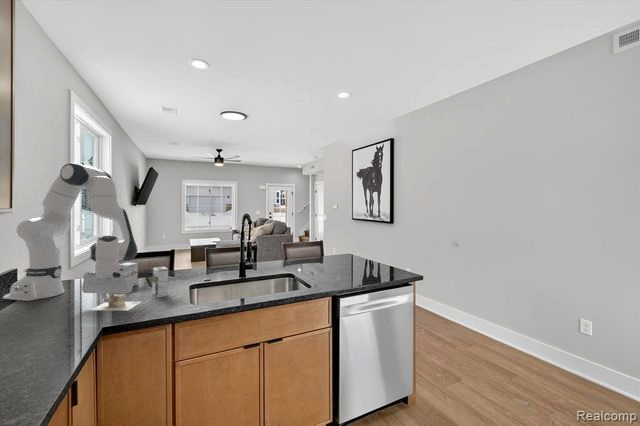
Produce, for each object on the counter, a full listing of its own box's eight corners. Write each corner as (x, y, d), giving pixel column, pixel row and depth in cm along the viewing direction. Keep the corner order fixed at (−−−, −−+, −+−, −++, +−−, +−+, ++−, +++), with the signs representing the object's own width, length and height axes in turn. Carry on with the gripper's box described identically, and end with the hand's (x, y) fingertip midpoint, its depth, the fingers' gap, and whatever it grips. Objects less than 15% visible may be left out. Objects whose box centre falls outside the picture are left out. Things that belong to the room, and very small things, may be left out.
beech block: (108, 307, 128) (108, 297, 128) (115, 304, 132) (115, 294, 132) (119, 307, 128) (119, 297, 128) (125, 304, 133) (125, 294, 133)
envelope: (89, 311, 124) (89, 310, 124) (106, 302, 135) (106, 301, 135) (127, 311, 125) (127, 310, 125) (141, 302, 136) (141, 301, 136)
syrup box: (151, 295, 146) (152, 267, 145) (164, 293, 150) (164, 266, 150) (155, 298, 142) (155, 269, 142) (168, 296, 146) (168, 268, 146)
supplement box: (127, 288, 157) (127, 265, 156) (115, 287, 158) (115, 264, 158) (138, 284, 164) (138, 262, 164) (127, 283, 166) (127, 261, 165)
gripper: (78, 273, 126) (78, 304, 126) (126, 274, 127) (126, 304, 127) (88, 270, 132) (88, 299, 132) (134, 270, 133) (134, 299, 134)
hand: (107, 302), depth 130 cm, fingers closed
